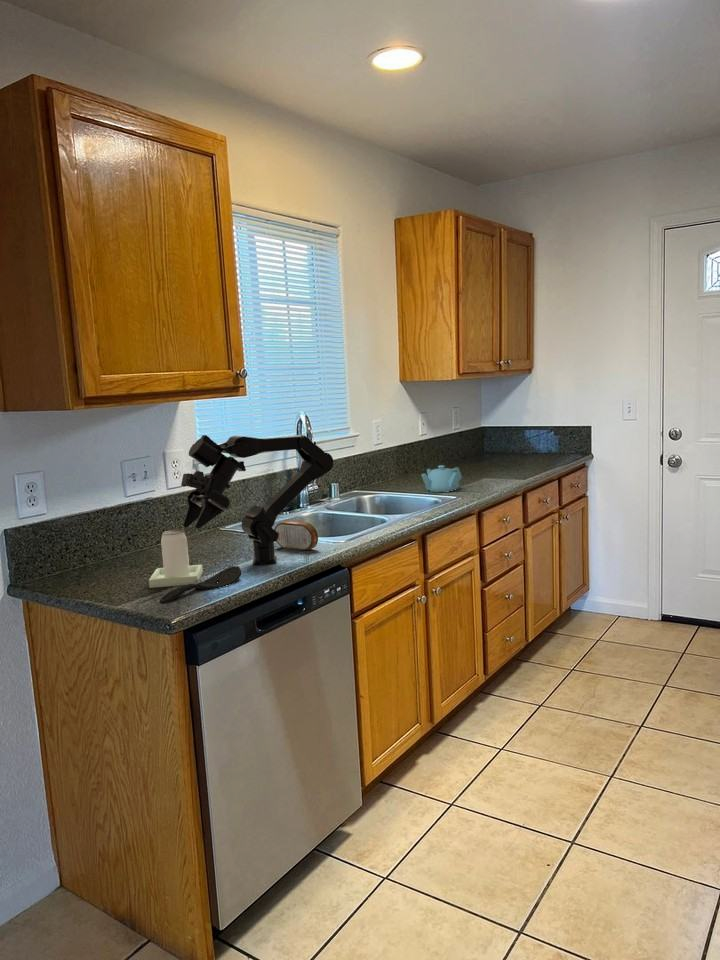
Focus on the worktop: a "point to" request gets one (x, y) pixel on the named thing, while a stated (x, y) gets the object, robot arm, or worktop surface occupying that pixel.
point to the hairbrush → (207, 583)
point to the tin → (296, 535)
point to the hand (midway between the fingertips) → (190, 527)
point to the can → (175, 553)
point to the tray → (175, 578)
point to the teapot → (442, 479)
